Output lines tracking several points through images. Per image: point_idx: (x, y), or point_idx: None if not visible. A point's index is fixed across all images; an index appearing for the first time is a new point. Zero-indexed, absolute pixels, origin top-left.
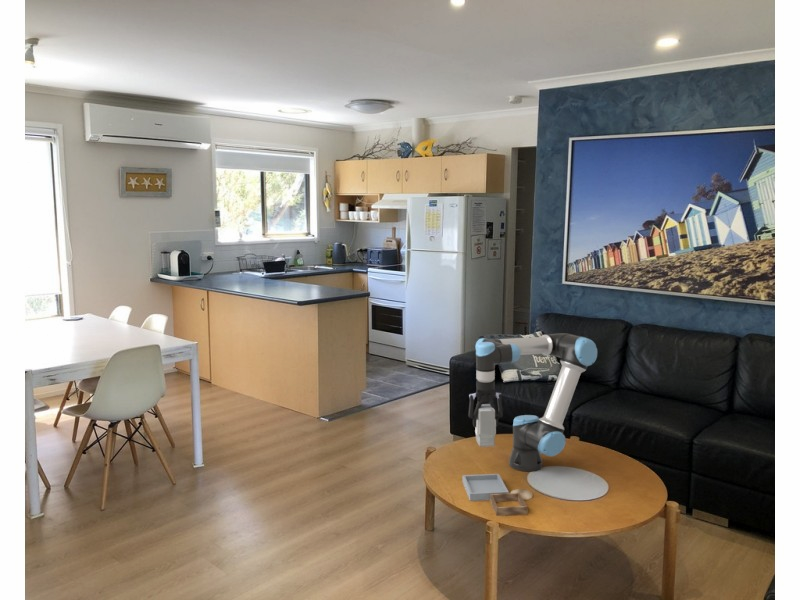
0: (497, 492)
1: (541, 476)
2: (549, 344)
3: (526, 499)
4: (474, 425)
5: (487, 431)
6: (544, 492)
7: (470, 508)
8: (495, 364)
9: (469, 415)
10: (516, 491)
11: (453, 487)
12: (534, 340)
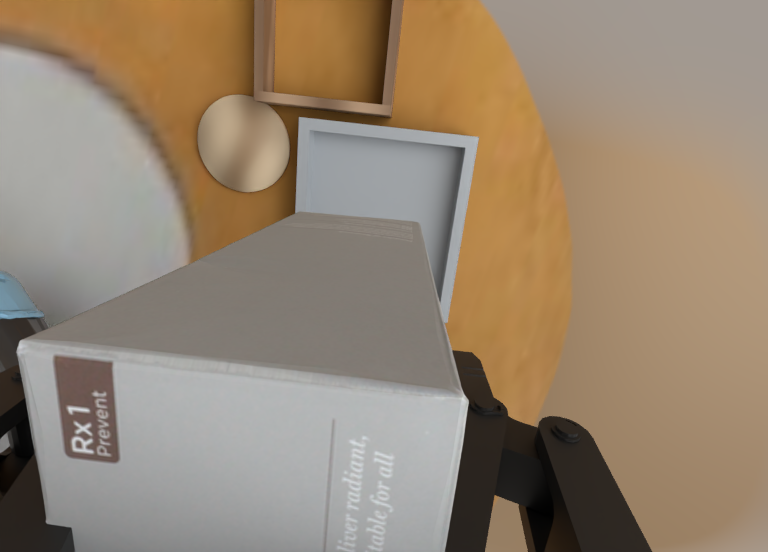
0: (350, 124)
1: (126, 290)
2: None
3: (234, 95)
4: (469, 361)
5: (340, 237)
6: (145, 149)
7: (495, 65)
8: None
9: (600, 466)
10: (257, 172)
11: (496, 273)
12: None
